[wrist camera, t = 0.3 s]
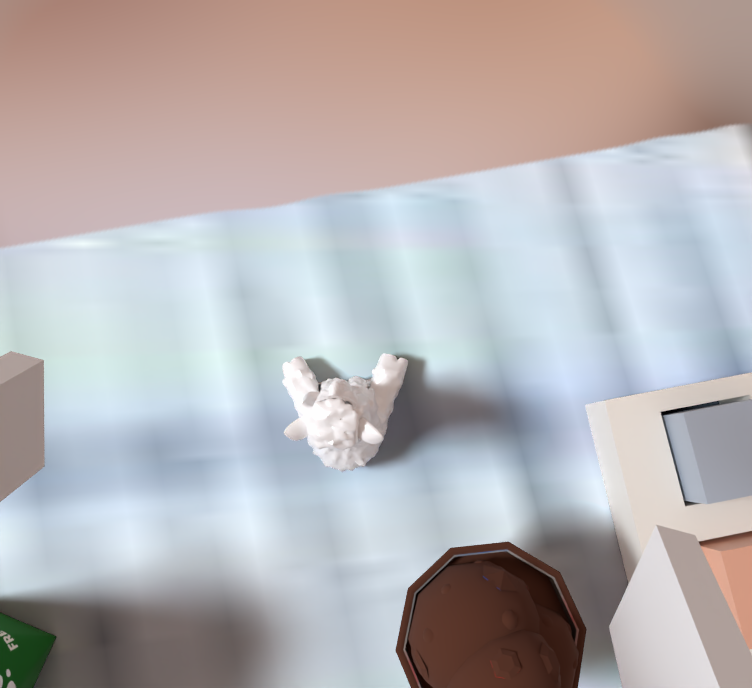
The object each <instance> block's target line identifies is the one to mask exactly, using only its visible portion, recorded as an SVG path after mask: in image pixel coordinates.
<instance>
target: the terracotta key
mask: <svg viewBox="0 0 752 688" xmlns="http://www.w3.org/2000/svg"><path fill="white" fill-rule="evenodd" d="M699 544H700V546H701V548H702V550H703V553H704V555H705V557H706V559H707V561H708V563H709V565H710V567H711V569H712V572H713V574H714V576H715V578H716V580H717V582H718V584H719V586H720V589H721V591H722V593H723V595H724V597H725V599H726V601H727V603H728V606H729V608H730V610H731V612H732V614H733V616H734V618H735V620H736V623H737V625H738V627H739V629H740V631H741V633H742V635H743V637H744V639H745V642H746V644H747V646H748V648H749V650H750V649H752V531H748V532H743V533H738V534H733V535H728V536H723V537H718V538H713V539H709V540H704V541H699Z"/></svg>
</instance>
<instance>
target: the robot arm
mask: <svg viewBox="0 0 752 688" xmlns="http://www.w3.org/2000/svg"><path fill="white" fill-rule="evenodd" d="M43 467H44V360H41V359H38V358H34V357H30V356H26V355H23V354H19V353H15V352H12V351H11V352H9V353H7V354H5V355H3V356H1V357H0V502H1V501H2V500H3V499H5V498H6V497H7V496H8V495H9V494H11V493H12V492H13V491H14V490H16V489H17V488H18V487H19V486H21V485H22V484H23V483H24V482H26V481H27V480H28V479H29V478H31V477H32V476H33V475H34V474H36V473H37V472H38V471H39V470H41V469H42V468H43ZM609 629H610V634H611V638H612V643H613V647H614V652H615V656H616V661H617V665H618V670H619V674H620V679H621V683H622V688H752V654H751V652H750V650H749V648H748V646H747V644H746V642H745V639H744V637H743V635H742V633H741V631H740V629H739V627H738V625H737V623H736V620H735V618H734V616H733V614H732V612H731V610H730V608H729V606H728V603H727V601H726V599H725V597H724V595H723V593H722V591H721V589H720V586H719V584H718V582H717V580H716V578H715V576H714V574H713V572H712V569H711V567H710V565H709V563H708V561H707V559H706V557H705V555H704V553H703V550H702V548H701V546H700V544H699V542H698V540H697V538H696V536H695V535H693V534H689V533H686V532H682V531H678V530H674V529H671V528H667V527H663V526H659V525H656V526H655V528H654V530H653V532H652V534H651V537H650V539H649V541H648V543H647V545H646V548H645V550H644V552H643V554H642V556H641V558H640V561H639V563H638V565H637V567H636V569H635V571H634V574H633V576H632V578H631V580H630V582H629V584H628V587H627V589H626V591H625V593H624V595H623V598H622V600H621V602H620V604H619V606H618V608H617V611H616V613H615V615H614V617H613V619H612V621H611V624H610V626H609Z"/></svg>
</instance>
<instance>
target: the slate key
mask: <svg viewBox="0 0 752 688" xmlns="http://www.w3.org/2000/svg"><path fill="white" fill-rule="evenodd" d="M661 416H662V420H663V424H664V427H665V431H666V435H667V439H668V443H669V446H670V450H671V454H672V458H673V462H674V466H675V469H676V473H677V477H678V481H679V485H680V488H681V492H682V496H683V500H684V501H689V502H696V503H703V504H712V503H717V502H722V501H727V500H732V499H737V498H742V497H747V496H752V399H748V400H741V401H734V402H728V403H722V404H717V405H712V406H707V407H701V408H696V409H691V410H686V411H680V412H675V413H670V414H665V415H661Z"/></svg>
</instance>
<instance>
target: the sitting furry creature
mask: <svg viewBox="0 0 752 688" xmlns="http://www.w3.org/2000/svg"><path fill="white" fill-rule="evenodd" d="M407 365H408V360H406V359H404V358H399V359H398V360H397V358H396V356H394V355H390V354H382V355H381V357H380V358H379V361H378V364H377V366H376V368H375V369H373V370H372V374H373V377H372V378H371V379H368V380H364V379H362V378H360V377H358V376H353V377H352V378H350V379H349V380H348V381H346V380H344V379H339V378H338V377H337V378H334V379H330V378H328V379H327V380H326V381H322V382H317V380H316V375H315V374H314V373H313V372H312V371H311V370H310V368H309V367H308V365H307V363H306V361H305V360H304V359H303V358H302V357H296V358H294V359H292V360H291V363H290V362H286V363H284V364H283V373H284V376H285V378H284V379H283V384H284V386H285V387H286V388H287V389H288V394H289V395H290V396H291V397H292V399H293V401H294V408H295V409H296V410H297V412H298V415H299V418H298V419H297V420H295V421H294V422H292V423H291V424H290V425H289V426H288V427H287V428H286V429H285V431H284V434H285V435H286V436H287V437H288V438H290V439H291V440H293V441H298V440H302V439H304V438H306V437H307V438H308V440H307V442H309V445H310V446H312V447H313V449H314V450H313V454H315V455H317V456H319V457H320V459H321V460H322V462H323V463H324V465H325V466H326V467H332V468H334V469H337V470H338V469H339V470H340V471H341V472H343V471H346V470H351V471H353V470H354V469H355V468H358V467H360V466H365V465H366V463H367V462H368V461H370V458H373V457H374V456H375V455H376V453H378V450H379V446H380V445H381V443H382V441H383V440H384V435H385V434H386V429H387V427H388V425H387V423H388V418H389V416H390V414H391V413H392V411H393V408H394V404H393V402H394V399H395V398H396V397H397V396H398V393H399V390H400V389H401V386H402V384H403V380H404V376H405V372H406V369H407ZM318 385H321V389H320V392H319V388H318Z"/></svg>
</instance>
